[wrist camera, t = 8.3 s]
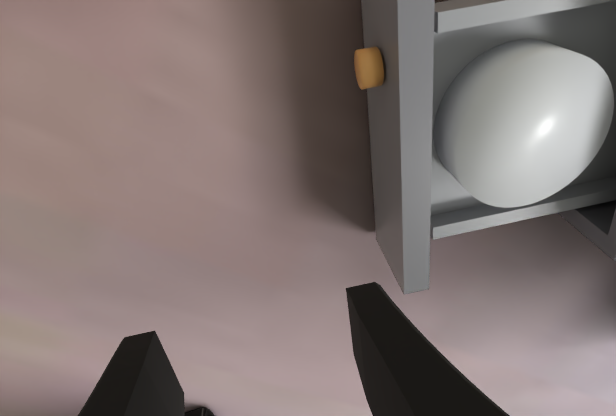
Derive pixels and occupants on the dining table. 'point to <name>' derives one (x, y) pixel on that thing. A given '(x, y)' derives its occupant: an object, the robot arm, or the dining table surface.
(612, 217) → the block
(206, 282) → the dining table surface
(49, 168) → the dining table surface
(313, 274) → the dining table surface
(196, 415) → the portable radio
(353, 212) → the dining table surface
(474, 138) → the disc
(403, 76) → the tray
